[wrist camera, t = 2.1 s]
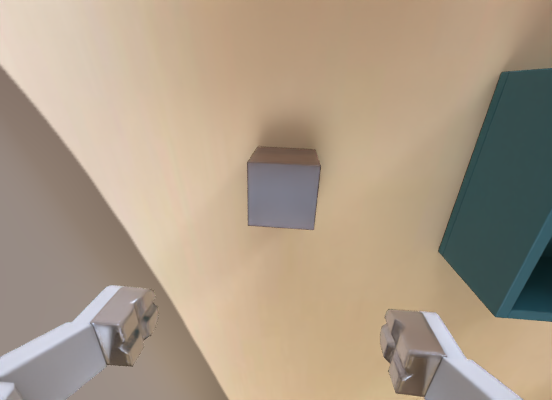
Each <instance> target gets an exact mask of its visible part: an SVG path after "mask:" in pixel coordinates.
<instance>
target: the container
mask: <svg viewBox="0 0 552 400" xmlns="http://www.w3.org/2000/svg"><path fill="white" fill-rule="evenodd" d="M439 253H440V254H441V255H442V256H443V257H444V259H445V260H446V261H447V262H448V263H449V264H450V265H451V267H452V268H453V269H454V270H455V271H456V272H457V274H458V275H459V276H460V277H461V278H462V279H463V280H464V282H465V283H466V284H467V285H468V286H469V287H470V289H471V290H472V291H473V292H474V293H475V294H476V295H477V297H478V298H479V299H480V300H481V301H482V302H483V304H484V305H485V306H486V307H487V308H488V309H489V310H490V312H491V313H492V314H493V315H494V316H495V317H500V318H513V319H525V320H537V321H549V322H552V68H547V69H534V70H521V71H508V72H502V73H501V75H500V78H499V81H498V84H497V87H496V89H495V92H494V95H493V98H492V101H491V104H490V106H489V109H488V112H487V115H486V118H485V121H484V123H483V126H482V129H481V132H480V135H479V138H478V140H477V143H476V146H475V149H474V152H473V155H472V157H471V160H470V163H469V166H468V169H467V172H466V174H465V177H464V180H463V183H462V186H461V189H460V191H459V194H458V197H457V200H456V203H455V206H454V208H453V211H452V214H451V217H450V220H449V223H448V225H447V228H446V231H445V234H444V237H443V240H442V242H441V245H440V248H439Z"/></svg>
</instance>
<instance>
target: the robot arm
mask: <svg viewBox="0 0 552 400" xmlns="http://www.w3.org/2000/svg"><path fill="white" fill-rule="evenodd" d="M155 298H156V296H155V292H154V290H152V289H145V288H137V287H128V286H116V285H110V286H107V287H105V288H104V290H103V291H102V292H101V293H100V294H99V295H98V296H97V297H96V298H95V299H94V300H93V301H92V302H91V303H90V304H89V305H88V306H87V307H86V308H85V309H84V310H83V311H82V312H81V313H80V314H79V315H78V317H76V319H74V321H73V322H66V323H64V324H63V325H61V326H59V327H57V328H55V329H53V330H51V331H49V332H47V333H45V334H43V335H41V336H39V337H37V338H35V339H33V340H32V341H30V342H28V343H26V344H24V345H22V346H20V347H18V348H16V349H14V350H12V351H10V352H8V353H6V354H5V355H3V356H1V357H0V400H66V399H67V398H68V397H70V396H71V395H72V394H73V393H75V392H76V391H77V390H78V389H80V388H81V387H82V386H83V385H84V384H86V383H87V382H88V381H89V380H91V378H93V377H94V376H96V375H97V374H98V373H99V372H100V371H102V370H103V369H104V368H105V367H107V365H118V366H133V365H134V363H135V362H136V360H137V358H138V357H139V355H140V353H141V351H142V350H143V348H144V343H143V341H144V340H145V339H146V338H148V337H149V336H151V335H152V333H153V331H154V329H155V328H156V324H157V321H158V314H159V312H158V307H157V306H156V305H155V304H154V303H153V301H154V299H155ZM385 320H386V322H387V323H386V324H385V325H383V326H382V328H381V332H380V344H381V350H382V353H383V356H384V358H385V359H386V360H387V361H388V362H389V363H390V367H389V370H388V372H389V375H390V378H391V381H392V384H393V387H394V390H395V393H398V394H406V395H413V396H421V397H425V398H424V399H425V400H523V399H522V398H521V397H520V396H518V395H517V394H516V393H514V392H513V391H512V390H510V389H509V388H508V387H507V386H505V385H504V384H503V383H501V382H500V381H499V380H498V379H496V378H495V377H494V376H492V375H491V374H490V373H488V372H487V371H486V370H485V369H483V368H482V367H481V366H479V365H478V364H477V363H475V362H474V361H473V360H468V359H466V357H465V355H464V354H463V352H462V351H461V349H460V348H459V346H458V344H457V343H456V341H455V340H454V338H453V337H452V335H451V333H450V332H449V330H448V329H447V327H446V326H445V324H444V322H443V321H442V319H441V318H440V316H439V315H438V314H437V313H435V312H423V311H419V312H418V311H409V310H396V309H388V310H387V311H386V314H385Z"/></svg>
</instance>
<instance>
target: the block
mask: <svg viewBox="0 0 552 400" xmlns="http://www.w3.org/2000/svg"><path fill="white" fill-rule="evenodd" d="M320 170H321V165H320V162H319V159H318V155H317V152H316V150H315V149H296V148H277V147H257V148H256V150H255V151H254V153H253V154H252V156H251V157H250V159H249V160H248V162H247V180H248V226H262V227H277V228H291V229H306V230H314V224H315V215H316V206H317V197H318V188H319V179H320Z"/></svg>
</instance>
